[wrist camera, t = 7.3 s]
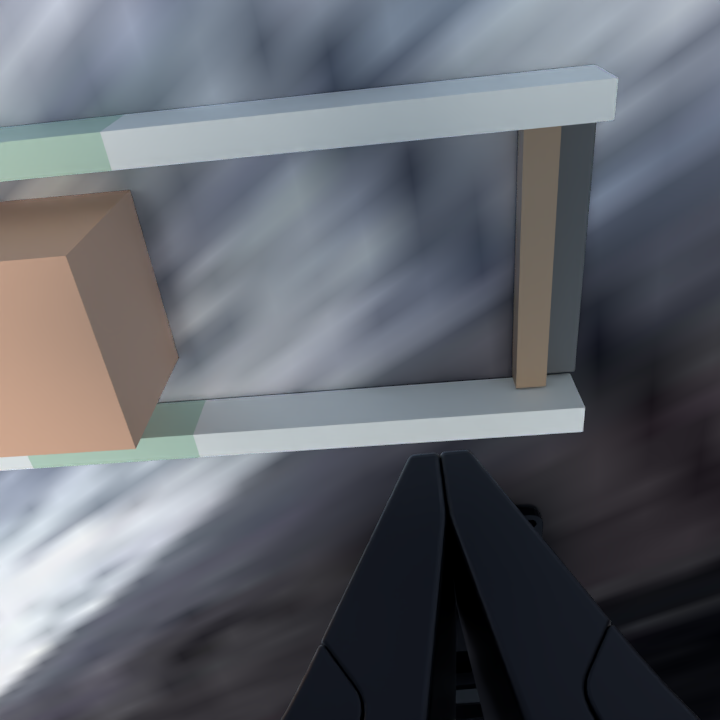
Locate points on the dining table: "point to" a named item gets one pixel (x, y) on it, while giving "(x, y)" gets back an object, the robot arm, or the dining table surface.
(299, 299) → the dining table surface
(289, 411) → the trap lane
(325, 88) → the dining table surface
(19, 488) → the dining table surface
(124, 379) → the block
